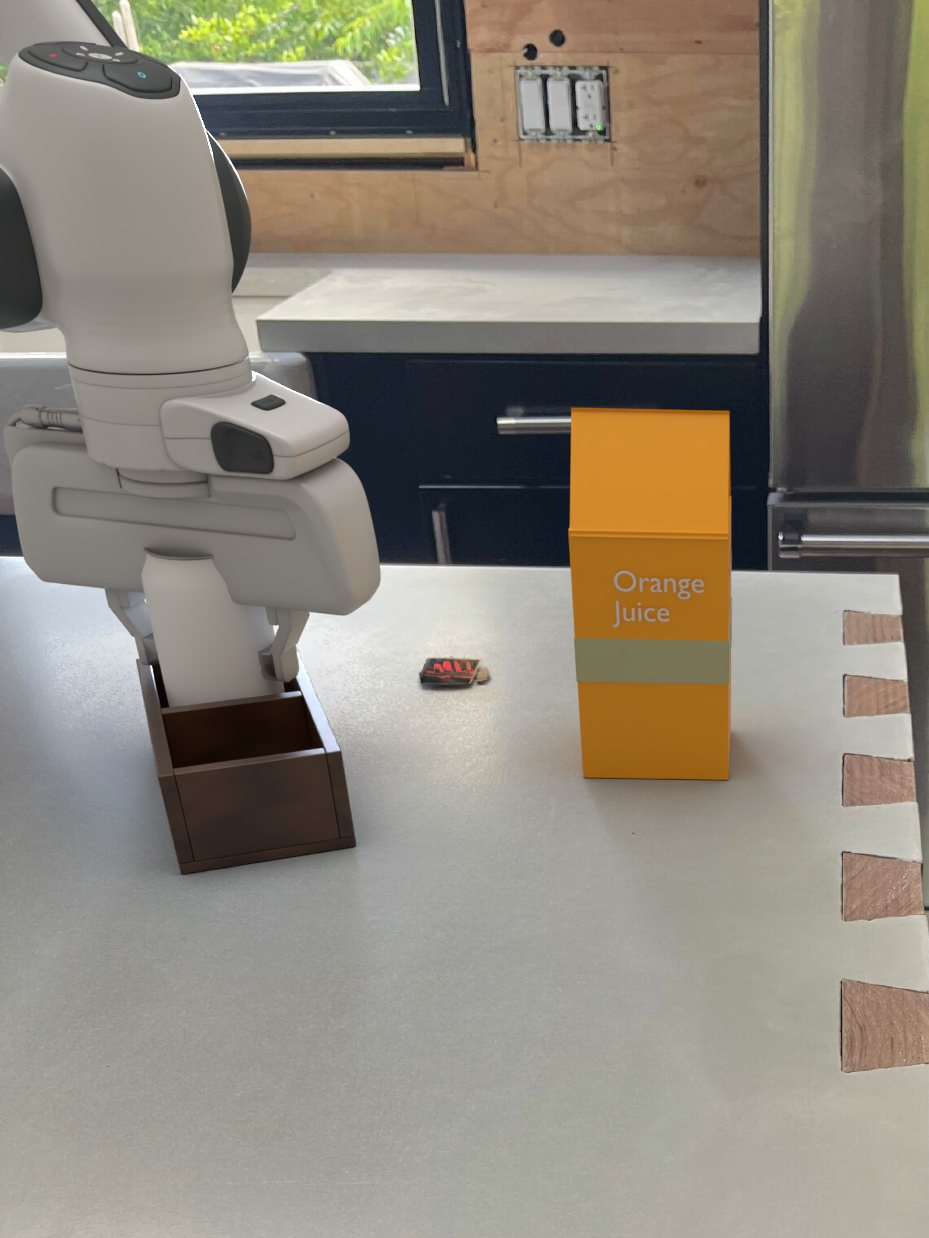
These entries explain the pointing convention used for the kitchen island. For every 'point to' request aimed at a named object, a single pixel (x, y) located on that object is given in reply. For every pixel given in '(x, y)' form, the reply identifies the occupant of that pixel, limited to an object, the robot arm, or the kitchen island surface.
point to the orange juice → (652, 591)
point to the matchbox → (452, 671)
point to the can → (204, 633)
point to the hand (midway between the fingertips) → (221, 670)
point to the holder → (248, 775)
